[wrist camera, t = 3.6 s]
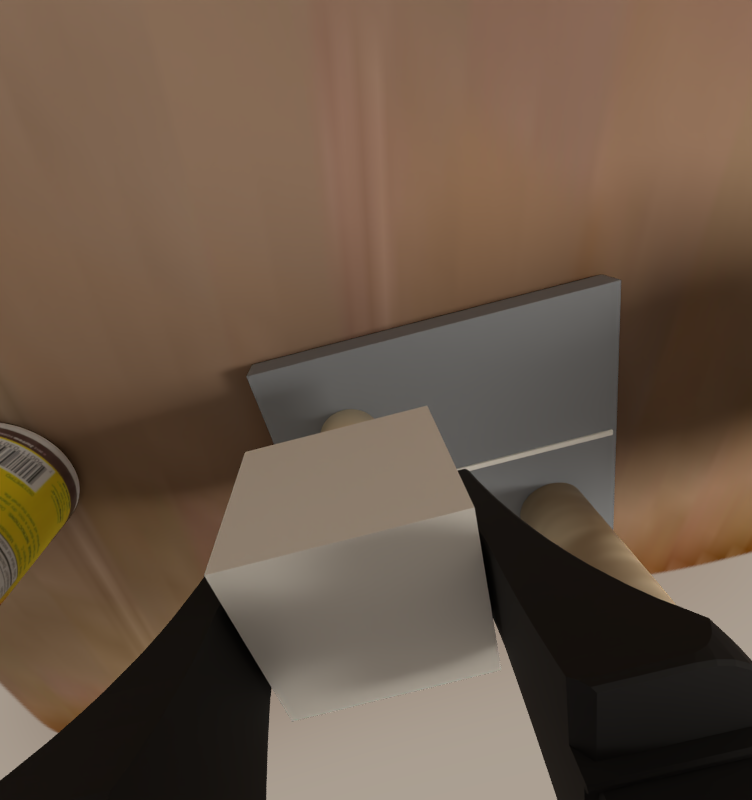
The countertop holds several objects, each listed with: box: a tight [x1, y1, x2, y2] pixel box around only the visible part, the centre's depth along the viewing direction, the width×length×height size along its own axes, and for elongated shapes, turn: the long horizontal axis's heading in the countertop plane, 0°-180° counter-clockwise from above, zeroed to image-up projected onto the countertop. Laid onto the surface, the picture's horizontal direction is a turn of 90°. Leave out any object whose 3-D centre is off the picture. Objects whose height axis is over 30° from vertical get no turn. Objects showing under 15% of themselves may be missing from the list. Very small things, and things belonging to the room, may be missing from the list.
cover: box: [204, 406, 501, 721], centre depth 11 cm, size 5×5×4 cm
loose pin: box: [520, 483, 676, 605], centre depth 17 cm, size 3×3×6 cm
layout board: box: [247, 275, 621, 530], centre depth 17 cm, size 14×13×4 cm
